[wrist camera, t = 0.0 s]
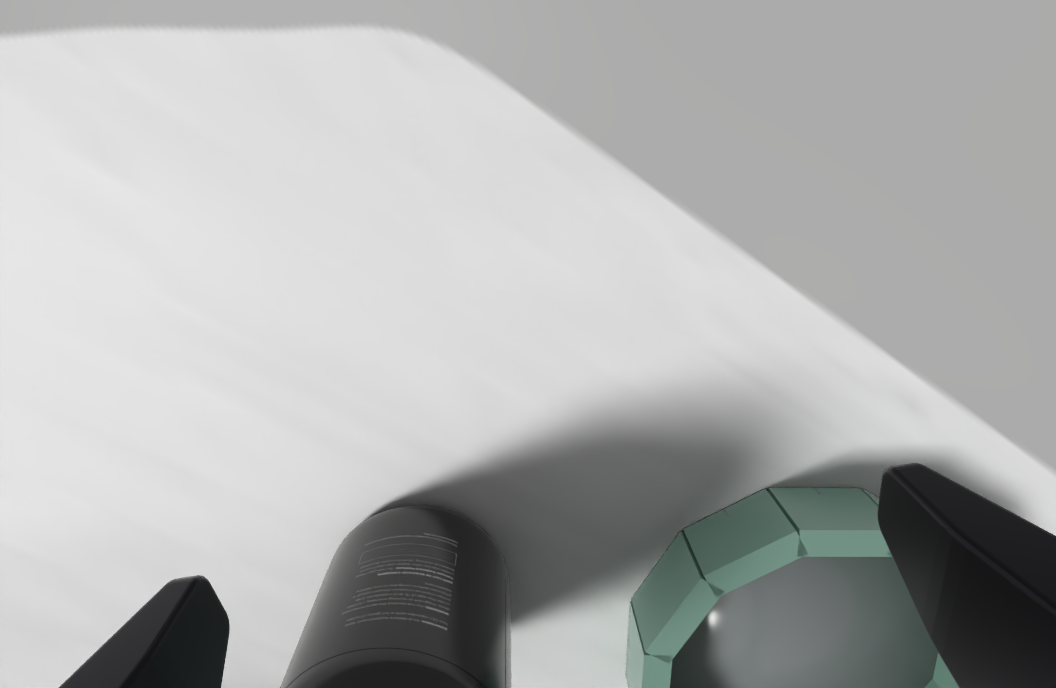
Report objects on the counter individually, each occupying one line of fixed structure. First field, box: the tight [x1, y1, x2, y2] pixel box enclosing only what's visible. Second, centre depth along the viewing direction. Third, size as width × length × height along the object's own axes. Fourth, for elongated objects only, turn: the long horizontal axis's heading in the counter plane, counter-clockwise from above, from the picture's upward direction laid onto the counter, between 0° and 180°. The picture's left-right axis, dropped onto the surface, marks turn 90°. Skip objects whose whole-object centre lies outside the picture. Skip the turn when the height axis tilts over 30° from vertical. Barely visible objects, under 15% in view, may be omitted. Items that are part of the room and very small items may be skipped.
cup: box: [626, 488, 959, 688], centre depth 27 cm, size 13×13×3 cm
